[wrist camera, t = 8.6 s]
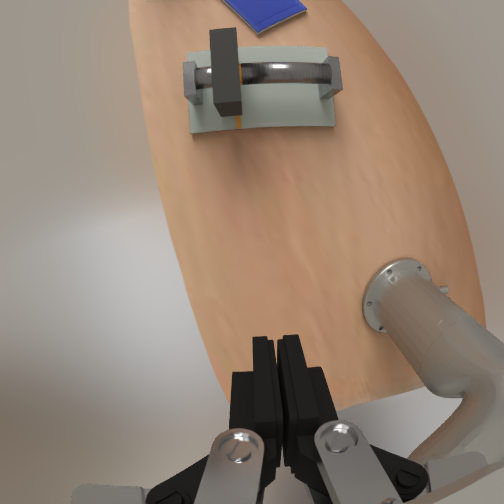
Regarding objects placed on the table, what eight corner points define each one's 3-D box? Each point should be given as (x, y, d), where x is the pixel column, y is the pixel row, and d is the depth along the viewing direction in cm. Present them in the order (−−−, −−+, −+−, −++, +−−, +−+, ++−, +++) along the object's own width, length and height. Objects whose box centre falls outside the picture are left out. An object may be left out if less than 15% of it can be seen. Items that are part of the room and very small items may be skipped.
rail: (325, 70, 29) (340, 55, 23) (328, 99, 30) (344, 88, 24) (192, 76, 29) (181, 60, 23) (193, 105, 30) (183, 94, 24)
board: (325, 49, 28) (326, 47, 28) (333, 126, 32) (335, 125, 31) (187, 55, 28) (186, 52, 28) (191, 134, 32) (190, 133, 31)
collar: (238, 55, 28) (236, 27, 20) (242, 115, 30) (241, 100, 22) (217, 57, 28) (209, 29, 20) (220, 117, 30) (213, 103, 22)
